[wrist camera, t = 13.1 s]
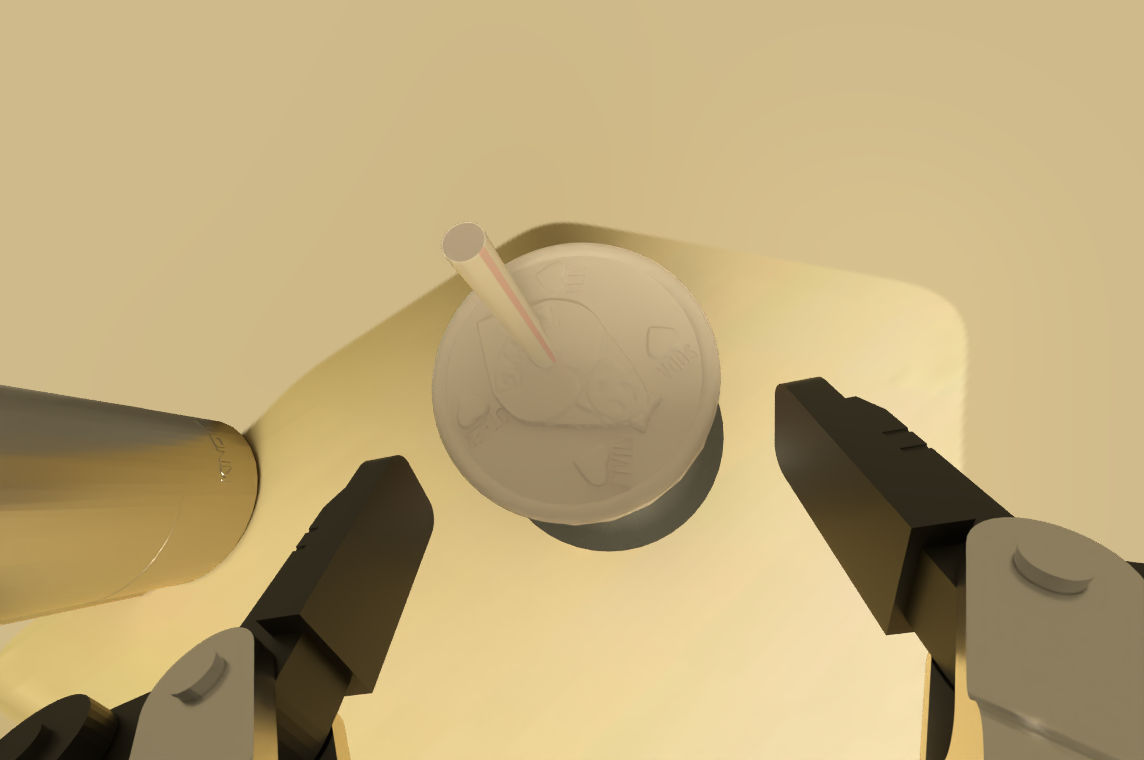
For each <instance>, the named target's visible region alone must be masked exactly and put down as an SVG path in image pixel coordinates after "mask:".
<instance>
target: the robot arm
mask: <svg viewBox="0 0 1144 760" xmlns="http://www.w3.org/2000/svg"><path fill="white" fill-rule="evenodd" d="M775 452H776V456H777V460H778V463H779V466H780V469H781V471H782V473H783V475H784V476H785V478H786V480H787V481H788V483H789V484H790V486H791V487H792V489H793V491H794V492H795V494H796V495H797V497H798V498H799V500H800V501H801V503H802V505H803V506H804V508H805V509H806V511H807V512H808V514H809V516H810V517H811V519H812V520H813V522H814V523H815V525H816V526H817V528H818V530H819V531H820V533H821V534H822V536H823V537H824V539H825V541H826V542H827V544H828V545H829V547H830V548H831V550H832V551H833V553H834V555H835V556H836V558H837V559H838V561H839V562H840V564H841V566H842V567H843V569H844V570H845V572H846V573H847V575H848V576H849V578H850V580H851V581H852V583H853V584H854V586H855V587H856V589H857V591H858V592H859V594H860V595H861V597H862V598H863V600H864V601H865V603H866V605H867V606H868V608H869V609H870V611H871V612H872V614H873V616H874V617H875V619H876V620H877V622H878V623H879V625H880V626H881V628H882V630H883V631H884V633H885V634H886V635H892V634H901V633H909V632H915V633H916V634H917V636H918V637H919V639H920V640H921V642H922V643H923V644H924V646H925V647H926V649H927V650H928V655H927V659H926V668H925V684H924V699H923V715H922V730H921V746H920V760H1144V563H1136V562H1129V561H1124V560H1123V559H1122V558H1121V557H1119V556H1118V555H1117V554H1115V553H1113V552H1112V551H1111V550H1109V549H1107V548H1106V547H1104V546H1102V545H1101V544H1099V543H1097V542H1095V541H1093V540H1091V539H1090V538H1087V537H1085V536H1083V535H1080V534H1078V533H1076V532H1074V531H1071V530H1068V529H1066V528H1063V527H1060V526H1057V525H1053V524H1050V523H1046V522H1042V521H1037V520H1032V519H1025V518H1016V517H1014V516H1013V515H1011V514H1010V513H1009V512H1008V511H1006V510H1005V509H1004V508H1003V507H1002V506H1001V505H999V504H998V503H997V502H996V501H994V500H993V499H992V498H991V497H990V496H989V495H987V494H986V493H985V492H984V491H983V490H981V489H980V488H979V487H978V486H977V485H975V484H974V483H973V482H972V481H971V480H969V479H968V478H967V477H966V476H965V475H964V474H962V473H961V472H960V471H959V470H958V469H956V468H955V467H954V466H953V465H952V464H950V463H949V462H948V461H947V460H946V459H944V458H943V457H942V456H941V455H940V454H938V453H937V452H936V451H935V450H934V449H932V448H928V447H927V443H925V442H924V441H923V440H922V439H921V438H919V437H918V436H917V435H916V434H915V433H913V432H909V431H908V428H907V427H906V426H905V425H904V424H903V423H901V422H900V421H899V420H898V419H897V418H895V417H894V416H893V415H892V414H891V413H889V412H888V411H887V410H886V409H884V408H881V407H879V406H877V405H875V404H872V403H870V402H868V401H866V400H863V399H861V398H859V397H856V396H855V397H850V398H844V397H843V396H842V395H841V394H840V393H839V392H838V391H837V390H836V389H835V388H834V387H832V386H831V385H830V384H829V383H828V382H827V381H826V380H825V379H823V378H821V377H815V378H809V379H804V380H799V381H793V382H788V383H783V384H779V385H778V386H777V387H776V391H775ZM257 480H258V476H257V469H256V461H255V458H254V456H253V453H252V450H251V447H250V446H249V444H248V443H247V441H246V440H245V438H244V437H243V436H242V435H241V434H240V433H239V432H238V431H237V430H235V429H234V428H233V427H231V426H229V425H227V424H225V423H222V422H219V421H213V420H207V419H201V418H195V417H189V416H183V415H177V414H171V413H166V412H159V411H153V410H148V409H143V408H137V407H132V406H125V405H119V404H113V403H107V402H101V401H95V400H89V399H83V398H77V397H71V396H64V395H58V394H53V393H46V392H40V391H34V390H28V389H22V388H16V387H10V386H4V385H0V625H4V624H9V623H14V622H18V621H23V620H28V619H33V618H37V617H42V616H47V615H52V614H56V613H61V612H66V611H71V610H76V609H80V608H85V607H90V606H95V605H99V604H104V603H109V602H114V601H118V600H123V599H128V598H133V597H137V596H142V595H144V594H145V593H146V592H147V591H149V590H154V589H159V588H164V587H169V586H174V585H178V584H182V583H186V582H190V581H193V580H195V579H197V578H199V577H201V576H203V575H204V574H206V573H208V572H209V571H211V570H212V569H213V568H214V567H216V566H217V565H218V564H219V563H221V562H222V561H223V560H224V559H225V557H226V556H227V555H228V554H229V553H230V552H231V551H232V549H233V548H234V547H235V546H236V544H237V542H238V541H239V539H240V538H241V536H242V534H243V533H244V531H245V529H246V527H247V524H248V522H249V519H250V517H251V515H252V512H253V508H254V504H255V499H256V495H257ZM433 525H434V514H433V509H432V506H431V503H430V501H429V499H428V498H427V496H426V494H425V492H424V490H423V488H422V487H421V485H420V483H419V481H418V479H417V477H416V476H415V474H414V472H413V470H412V468H411V467H410V465H409V463H408V461H407V460H406V459H405V458H404V457H403V456H401V455H396V456H391V457H385V458H380V459H375V460H370V461H366V462H364V463H362V464H361V466H360V467H359V468H358V470H357V471H356V473H355V474H354V476H353V477H352V479H351V480H350V482H349V483H348V485H347V486H346V488H344V489H343V490H342V491H341V492H340V493H339V494H338V495H337V496H336V497H335V498H333V499H332V500H331V501H330V502H329V503H328V504H327V505H326V506H325V507H324V508H323V509H322V511H321V512H320V513H319V515H318V516H317V518H316V519H315V521H314V522H313V523H312V525H311V526H310V528H309V533H305V535H304V536H303V538H302V539H301V541H300V542H299V543H298V545H297V546H296V548H297V550H296V551H293V552H292V553H291V555H290V556H289V558H288V559H287V561H286V562H285V563H284V565H283V566H282V568H281V569H280V571H279V572H278V573H277V575H276V576H275V578H274V579H273V581H272V582H271V583H270V585H269V586H268V588H267V589H266V591H265V592H264V593H263V595H262V596H261V598H260V599H259V601H258V602H257V603H256V605H255V606H254V608H253V609H252V611H251V612H250V613H249V615H248V616H247V618H246V619H245V621H244V622H243V623H242V625H241V626H240V627H236V628H230V629H227V630H224V631H221V632H219V633H217V634H215V635H213V636H211V637H209V638H207V639H206V640H204V641H203V642H201V643H200V644H198V645H197V646H195V647H194V648H193V649H191V650H190V651H189V652H187V653H186V654H185V655H184V656H183V657H182V658H180V659H179V660H178V661H177V662H176V663H175V664H174V665H173V666H172V667H171V668H170V669H169V670H168V671H167V672H166V673H165V675H164V676H163V677H162V678H161V679H160V680H159V682H158V683H157V684H156V686H155V687H154V688H153V690H152V691H151V692H149V693H146V694H144V695H142V696H140V697H138V698H135V699H133V700H131V701H129V702H126V703H124V704H122V705H120V706H117V707H115V708H113V709H111V710H109V709H107V708H106V707H104V706H103V705H101V704H99V703H98V702H96V701H95V700H93V699H91V698H90V697H88V696H87V695H83V694H75V695H71V696H68V697H65V698H62V699H60V700H57V701H55V702H53V703H52V704H50V705H48V706H46V707H44V708H43V709H41V710H39V711H38V712H36V713H34V714H33V715H32V716H30V717H29V718H27V719H26V720H24V721H23V722H22V723H20V724H19V725H18V726H16V727H15V728H14V729H12V730H11V731H10V732H9V733H8V734H6V735H5V736H4V737H3V738H2V739H0V760H351V759H350V753H349V748H348V742H347V737H346V731H345V726H344V722H343V720H342V718H341V717H340V715H339V714H337V712H338V710H339V707H340V705H341V703H342V700H343V698H344V696H351V695H359V694H368V693H372V692H373V690H374V687H375V684H376V682H377V679H378V676H379V673H380V671H381V668H382V665H383V663H384V660H385V657H386V655H387V652H388V649H389V647H390V644H391V641H392V639H393V636H394V633H395V631H396V628H397V625H398V622H399V620H400V617H401V614H402V612H403V609H404V606H405V604H406V601H407V598H408V596H409V593H410V590H411V588H412V585H413V582H414V579H415V577H416V574H417V571H418V569H419V566H420V563H421V561H422V558H423V555H424V553H425V550H426V547H427V545H428V542H429V539H430V536H431V534H432V531H433Z"/></svg>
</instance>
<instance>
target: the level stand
mask: <svg viewBox="0 0 1144 760" xmlns="http://www.w3.org/2000/svg"><path fill="white" fill-rule="evenodd" d="M723 440H724V438H723V422H722V416H721V411H720V407H719V404H718V405H717V410H716V414H715V417H714V420H713V423H712V427H711V429H710V431H709V433H708V436H707V438H706V441H705V444H704V447H703V449H702V450H701V452H700V453H699V455H698V456H697V457H696V459H695V460H694V462H693V463H692V465H691V466H690V467H689V469H688V470H687V472H686V473H685V475H684V476H683V477H682V479H681V480H680V481H679V482H678V483H676V484H675V485H674V486H673V487H671V488H670V489H669V490H668V491H666V492H665V493H664V494H663V495H662V496H660V497H659V498H658V499H657V500H655V501H654V502H653V503H652V504H650V505H648V506H646V507H644V508H641V509H639V510H637V511H635V512H632V513H630V514H628V515H625V516H623V517H621V518H618V519H616V520H614V521H606V522H598V523H590V524H582V525H568V524H558V523H548V522H543V521H538V520H533V519H530V518H529V519H530V520H531V521H532V522H533V523H534V524H535V525H536V526H538V527H539V528H540V529H542V530H543V531H545V532H546V533H547V534H549V535H551V536H553V537H554V538H556V539H558V540H560V541H562V542H565V543H567V544H570V545H573V546H576V547H579V548H584V549H589V550H595V551H622V550H629V549H633V548H638V547H642V546H645V545H647V544H650V543H653V542H655V541H658V540H659V539H661V538H663V537H665V536H667V535H669V534H670V533H672V532H673V531H675V530H676V529H677V528H679V527H680V526H681V525H683V524H684V523H685V522H686V521H687V520H688V519H689V518H690V517H691V516H692V515H693V514H694V513H695V512H696V511H697V509H698V508H699V507H700V505H701V504H702V503H703V501H704V500H705V498H706V497H707V495H708V493H709V491H710V489H711V488H712V486H713V484H714V481H715V478H716V476H717V473H718V470H719V466H720V462H721V458H722V451H723Z"/></svg>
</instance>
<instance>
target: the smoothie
mask: <svg viewBox="0 0 1144 760" xmlns="http://www.w3.org/2000/svg"><path fill="white" fill-rule="evenodd" d="M441 249H442V252H443V254H444V256H445V257H446V259H447V260H448V261H449V262H450V263H451V265H452V266H453V267H454V268H455V269H456V271H457V272H458V273H459V274H460V275H461V277H462V278H463V279H464V280H465V281H466V283H467V284H468V285H469V286H470V287H471V289H472V291H471V292H470V293H469V295H468V296H467V297H466V298H465V299H464V301H463V302H462V303H461V305H460V306H459V307H458V309H457V310H456V312H455V313H454V315H453V317H452V318H451V320H450V322H449V323H448V326H447V328H446V330H445V332H444V334H443V336H442V339H441V342H440V345H439V347H438V351H437V355H436V358H435V364H434V369H433V378H432V402H433V410H434V416H435V420H436V425H437V428H438V431H439V434H440V437H441V440H442V442H443V444H444V446H445V449H446V451H447V453H448V454H449V456H450V458H451V460H452V461H453V463H454V464H455V466H456V467H457V468H458V470H459V471H460V473H461V474H462V475H463V476H464V477H465V478H466V479H467V481H468V482H469V483H470V484H471V485H472V486H473V487H475V488H476V489H477V490H478V491H479V492H480V493H481V494H483V495H484V496H485V497H487V498H488V499H489V500H491V501H492V502H494V503H496V504H497V505H499V506H501V507H503V508H504V509H506V510H509V511H511V512H513V513H515V514H518V515H521V516H524V517H527V518H530V519H533V520H538V521H543V522H548V523H558V524H568V525H582V524H590V523H598V522H606V521H614V520H616V519H618V518H621V517H623V516H625V515H628V514H630V513H632V512H635V511H637V510H639V509H641V508H644V507H646V506H648V505H650V504H652V503H653V502H654V501H655V500H657V499H658V498H659V497H660V496H662V495H663V494H664V493H665V492H666V491H668V490H669V489H670V488H671V487H673V486H674V485H675V484H676V483H678V482H679V481H680V480H681V479H682V477H683V476H684V475H685V473H686V472H687V470H688V469H689V467H690V466H691V465H692V463H693V462H694V460H695V459H696V457H697V456H698V455H699V453H700V452H701V450H702V449H703V447H704V444H705V441H706V438H707V436H708V433H709V431H710V429H711V427H712V423H713V420H714V417H715V414H716V410H717V405H718V401H719V394H720V384H721V374H720V360H719V353H718V348H717V344H716V340H715V337H714V334H713V331H712V328H711V325H710V323H709V321H708V319H707V317H706V315H705V313H704V311H703V309H702V308H701V306H700V304H699V303H698V301H697V300H696V299H695V297H694V296H693V295H692V293H691V292H690V291H689V290H688V289H687V288H686V286H685V285H684V284H683V283H682V282H681V281H680V280H679V279H678V278H676V277H675V276H674V275H673V274H672V273H671V272H669V271H668V270H667V269H665V268H664V267H662V266H661V265H660V264H658V263H656V262H654V261H653V260H651V259H649V258H647V257H645V256H643V255H641V254H639V253H636V252H633V251H631V250H628V249H625V248H621V247H617V246H613V245H607V244H601V243H588V242H580V243H565V244H558V245H553V246H548V247H544V248H541V249H537V250H534V251H532V252H529V253H526V254H524V255H522V256H520V257H517V258H515V259H513V260H511V261H510V262H508V263H506V264H504V263H503V261H502V260H501V258H500V256H499V255H498V253H497V251H496V250H495V248H494V246H493V245H492V243H491V242H490V240H489V238H488V236H487V235H486V233H485V231H484V230H483V228H482V227H481V226H480V225H478V224H476V223H474V222H461V223H458V224H456V225H454V226H453V227H451V228H450V229H449V230H448V231H447V232H446V233H445V235H444V237H443V240H442V244H441Z"/></svg>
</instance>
